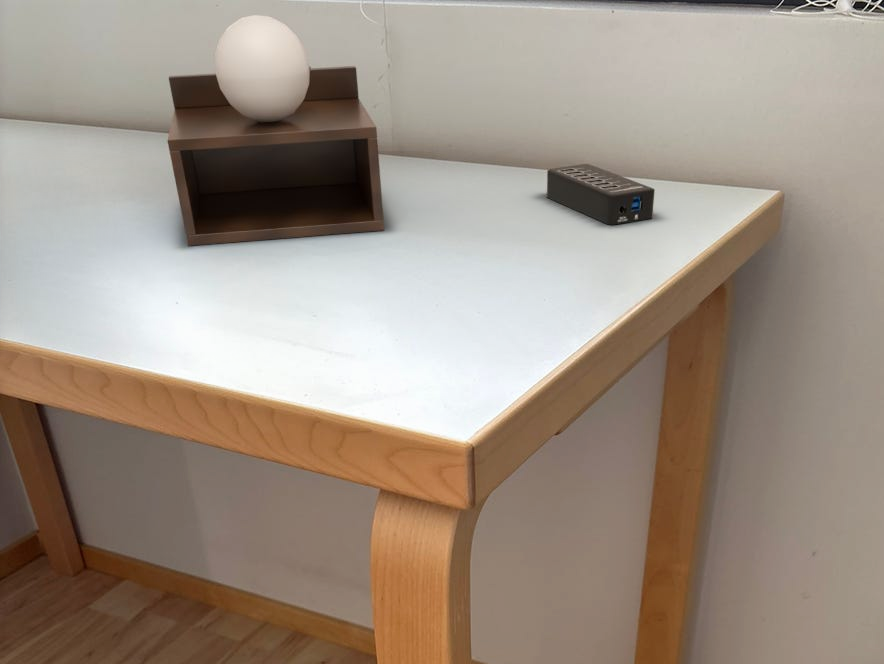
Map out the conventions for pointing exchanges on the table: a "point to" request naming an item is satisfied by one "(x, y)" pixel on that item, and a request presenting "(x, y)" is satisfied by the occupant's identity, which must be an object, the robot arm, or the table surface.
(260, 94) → the cream oval egg shape
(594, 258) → the table surface
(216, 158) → the shelf
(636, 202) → the multiport hub
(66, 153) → the table surface
